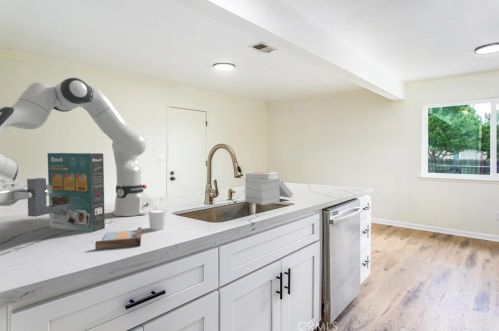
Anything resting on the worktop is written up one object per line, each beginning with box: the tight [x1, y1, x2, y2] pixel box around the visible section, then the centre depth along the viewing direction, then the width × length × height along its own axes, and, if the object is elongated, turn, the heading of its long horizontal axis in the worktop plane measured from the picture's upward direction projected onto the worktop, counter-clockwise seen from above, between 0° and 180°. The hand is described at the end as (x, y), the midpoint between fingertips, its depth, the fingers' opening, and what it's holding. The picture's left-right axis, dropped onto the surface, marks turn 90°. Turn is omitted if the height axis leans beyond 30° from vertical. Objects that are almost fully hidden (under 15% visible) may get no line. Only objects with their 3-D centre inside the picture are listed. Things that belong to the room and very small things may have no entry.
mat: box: [98, 229, 143, 251], centre depth 104 cm, size 19×12×1 cm, turn 19°
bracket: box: [26, 177, 68, 218], centre depth 101 cm, size 13×3×12 cm, turn 168°
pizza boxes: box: [244, 171, 294, 206], centre depth 186 cm, size 19×30×18 cm, turn 133°
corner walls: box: [94, 227, 142, 251], centre depth 102 cm, size 15×13×2 cm
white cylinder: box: [148, 209, 167, 231], centre depth 119 cm, size 7×7×7 cm
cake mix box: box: [47, 152, 106, 233], centre depth 119 cm, size 22×6×30 cm, turn 72°
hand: (39, 193), depth 97 cm, fingers closed on bracket, 4 cm apart
